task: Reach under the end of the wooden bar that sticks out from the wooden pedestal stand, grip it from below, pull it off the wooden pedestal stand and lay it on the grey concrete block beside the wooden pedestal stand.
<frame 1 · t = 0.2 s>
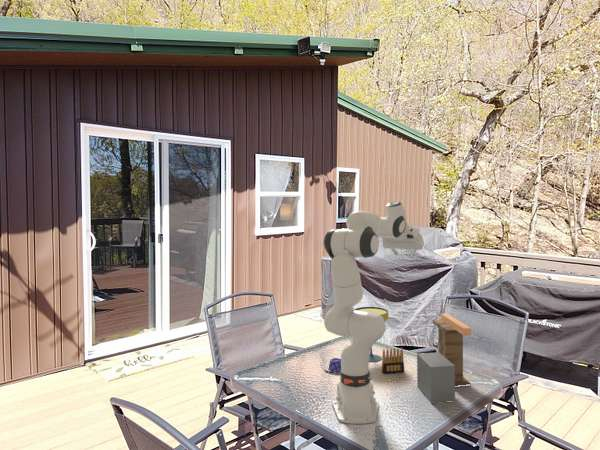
hand: (405, 255, 227), 55 cm above the table, tool tilted 30°, fingers open, 8 cm apart
wooden bar: (455, 327, 200), point 26 cm above the table, touching wooden pedestal stand
grey concrete block: (435, 394, 193), on the table
ammunition clip: (393, 373, 218), on the table
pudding: (336, 370, 223), on the table
wooden pedestal stand: (452, 382, 205), on the table
cocktail glass: (371, 358, 237), on the table
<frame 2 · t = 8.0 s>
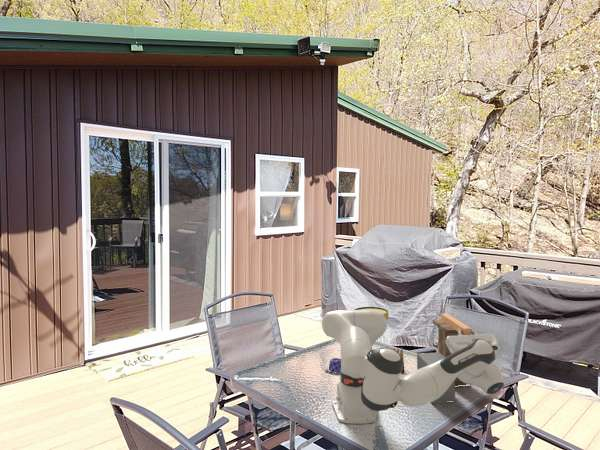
hand: (464, 329, 191), 28 cm above the table, tool pointing upward, fingers closed on wooden bar, 3 cm apart
wooden bar: (455, 327, 200), point 26 cm above the table, touching gripper, wooden pedestal stand
everything else where it was.
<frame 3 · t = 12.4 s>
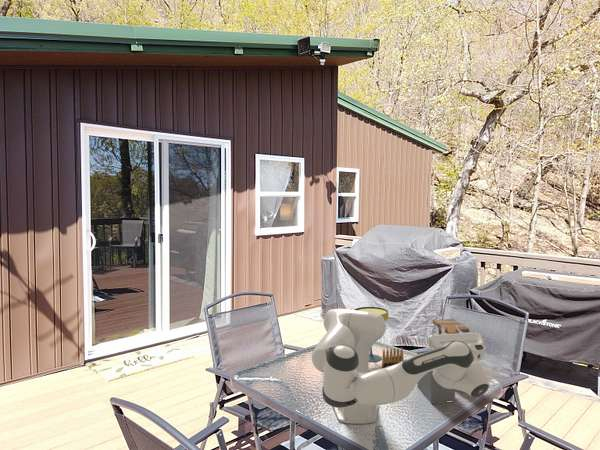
hand: (448, 327, 180), 32 cm above the table, tool pointing upward, fingers closed on wooden bar, 3 cm apart
wooden bar: (443, 345, 186), point 23 cm above the table, tilted 42°, touching gripper
everything else where it was.
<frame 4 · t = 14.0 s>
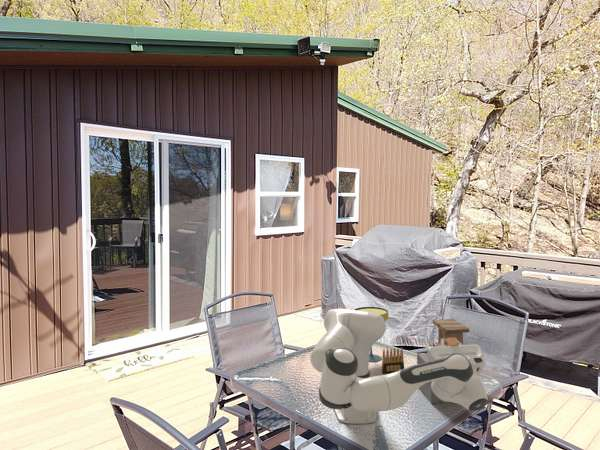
hand: (448, 339, 179), 28 cm above the table, tool pointing upward, fingers closed on wooden bar, 3 cm apart
wooden bar: (442, 351, 185), point 21 cm above the table, tilted 29°, touching grey concrete block, gripper
everything else where it was.
when the fingers open (18 cm above the table, at t = 16.2 s): wooden bar stays where it is, resting on grey concrete block.
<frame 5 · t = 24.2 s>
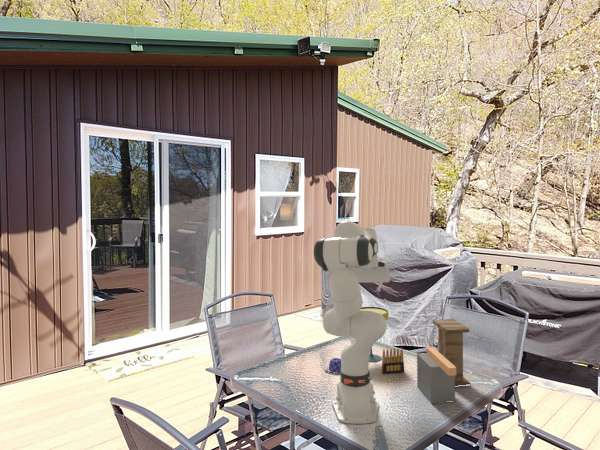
hand: (368, 291, 216), 39 cm above the table, tool pointing down, fingers open, 8 cm apart
wooden bar: (440, 364, 187), point 15 cm above the table, touching grey concrete block
everything else where it was.
at the end: wooden bar inside the target area on the grey concrete block (3.6 cm from its centre), point 15.0 cm above the grey concrete block's base; wooden bar touching grey concrete block; the gripper is holding nothing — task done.
